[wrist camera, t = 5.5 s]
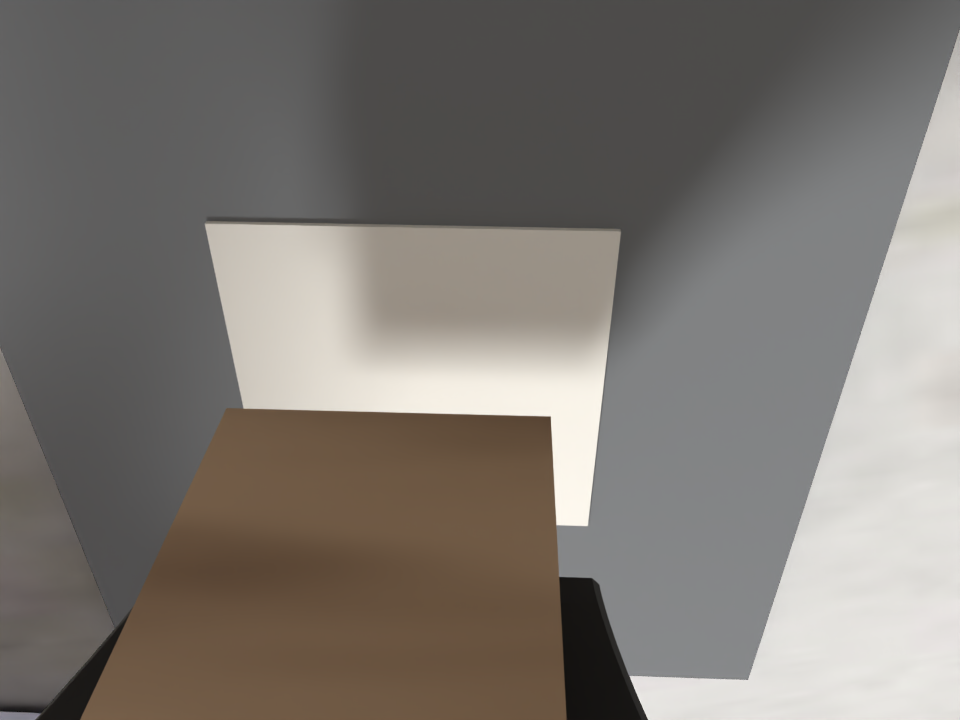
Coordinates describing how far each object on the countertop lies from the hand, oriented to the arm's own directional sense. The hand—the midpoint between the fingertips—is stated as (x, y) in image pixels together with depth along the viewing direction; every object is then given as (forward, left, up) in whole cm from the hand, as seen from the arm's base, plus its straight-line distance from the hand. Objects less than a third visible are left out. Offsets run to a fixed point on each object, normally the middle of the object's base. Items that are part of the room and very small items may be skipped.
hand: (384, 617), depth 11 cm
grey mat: (0, 0, -6) cm, 6 cm away
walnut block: (0, 0, -2) cm, 2 cm away
